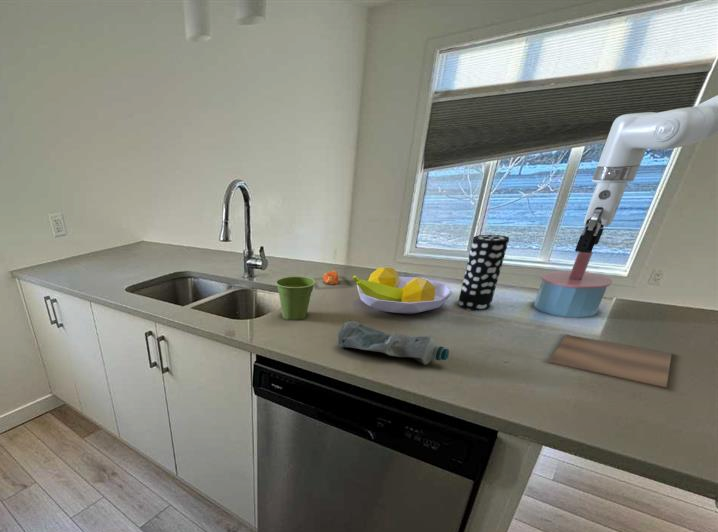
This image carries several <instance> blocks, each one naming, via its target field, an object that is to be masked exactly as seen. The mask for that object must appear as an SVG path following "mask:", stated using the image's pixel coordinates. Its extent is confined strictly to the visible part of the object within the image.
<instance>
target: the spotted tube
mask: <svg viewBox="0 0 718 532" xmlns="http://www.w3.org/2000/svg"><path fill="white" fill-rule="evenodd" d="M509 241H510V237H509V236H506V235H499V234H478V235H475V236H473V238H472V241H471V247H470V251H469V254H468V259H467V262H466V268H465V272H464V275H463V280H462V284H461V288H460V293H459V296H458V302H457V307H459V308H461V309H464V310H468V311H475V312H476V311H478V312H479V311H480V312H481V311H487V310H489V309H490V308H491V306H492V303H493V299H494V295H495V291H496V288H497V285H498V281H499V277H500V275H501V274H500V273H501V270H502V267H503V262H504V259H505V256H506V252H507V249H508V245H509Z"/></svg>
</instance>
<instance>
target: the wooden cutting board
mask: <svg viewBox="0 0 718 532" xmlns="http://www.w3.org/2000/svg"><path fill="white" fill-rule="evenodd" d="M672 355H673V353H669V352H664V351H658V350H653V349H647V348H641V347H636V346H630V345H625V344H619V343H614V342H608V341H603V340H597V339H593V338H586V337H581V336H576V335H570V334H565V336H564V338H563V340H562V341H561V343H560V344H559V346H558V347H557V349H556V351H555V352H554V354H553V355H552V357H551V358H550V360H549V361H548V363H549V364H552V365H558V366H562V367H567V368H571V369H576V370H579V371H585V372H590V373H594V374H599V375H602V376H607V377H612V378H616V379H621V380H625V381H629V382H634V383H638V384H642V385H647V386H653V387H657V388H661V389H667V387H668V381H669V374H670V369H671V368H670V367H671V363H672V362H671V361H672Z"/></svg>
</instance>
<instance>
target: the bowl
mask: <svg viewBox="0 0 718 532" xmlns="http://www.w3.org/2000/svg"><path fill="white" fill-rule="evenodd" d="M607 289H608V287H604V288H594V289H583V288H570V287H563V286H558V285H553V284H550V283H547V282H545V281H543V280H542V279H541V282H540V285H539V288H538V291H537V293H536V298H535V300H534V304H533V307H534V309H536V310H538V311H540V312H541V313H546V314H548V315H552V316H558V317H563V318H589V317H593V316H595V315H596V314H597V312H598V310H599V308H600V305H601V303H602V300H603V298H604V296H605V294H606V291H607Z"/></svg>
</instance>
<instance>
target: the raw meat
mask: <svg viewBox="0 0 718 532" xmlns="http://www.w3.org/2000/svg"><path fill="white" fill-rule="evenodd" d="M322 281H323V282H324V283H325V284H328V285H331V286H335V285H338V284H339V275H338V271H337V270H332V271H329V272H326V273H324V274H323V276H322Z"/></svg>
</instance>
